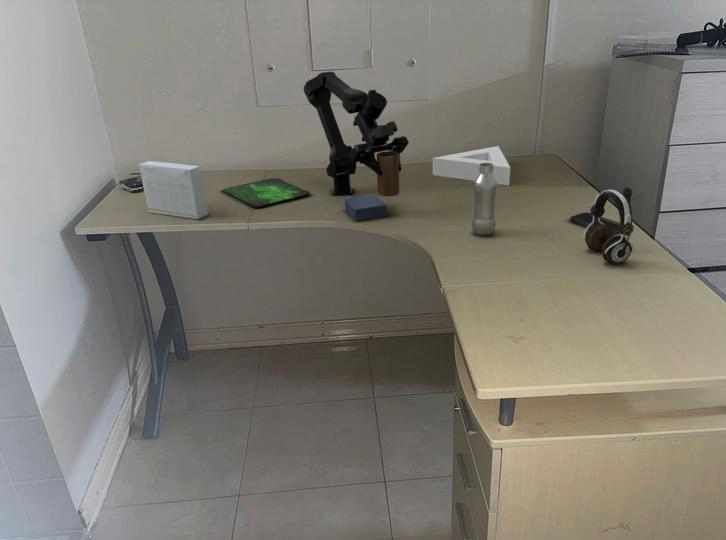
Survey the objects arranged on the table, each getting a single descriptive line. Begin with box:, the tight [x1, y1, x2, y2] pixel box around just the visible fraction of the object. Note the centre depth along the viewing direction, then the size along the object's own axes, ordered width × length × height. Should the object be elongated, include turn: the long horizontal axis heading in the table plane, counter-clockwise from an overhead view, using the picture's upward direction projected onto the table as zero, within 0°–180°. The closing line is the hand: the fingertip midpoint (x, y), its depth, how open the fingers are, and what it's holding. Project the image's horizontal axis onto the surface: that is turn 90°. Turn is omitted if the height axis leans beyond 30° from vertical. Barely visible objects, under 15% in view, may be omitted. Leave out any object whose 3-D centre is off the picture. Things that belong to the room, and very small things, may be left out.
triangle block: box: [432, 145, 511, 186], centre depth 235 cm, size 30×26×6 cm
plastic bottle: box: [471, 163, 498, 236], centre depth 180 cm, size 6×7×20 cm
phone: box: [569, 211, 620, 235], centre depth 188 cm, size 8×1×15 cm
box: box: [343, 193, 388, 222], centre depth 202 cm, size 11×10×4 cm
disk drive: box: [118, 175, 144, 193], centre depth 235 cm, size 10×3×15 cm
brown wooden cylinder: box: [376, 150, 400, 197], centre depth 195 cm, size 7×7×12 cm
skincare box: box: [138, 160, 209, 220], centre depth 204 cm, size 21×6×16 cm, turn 65°
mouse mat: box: [221, 177, 311, 208], centre depth 224 cm, size 27×22×1 cm
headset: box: [583, 186, 635, 265], centre depth 163 cm, size 17×8×20 cm, turn 13°
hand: (390, 172), depth 194 cm, fingers closed on brown wooden cylinder, 6 cm apart
